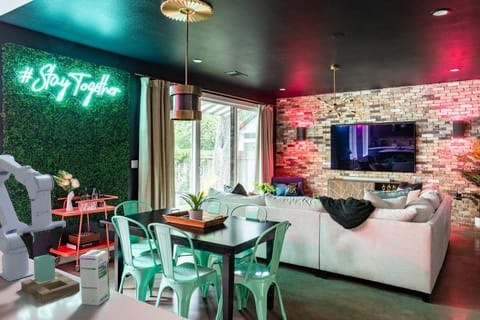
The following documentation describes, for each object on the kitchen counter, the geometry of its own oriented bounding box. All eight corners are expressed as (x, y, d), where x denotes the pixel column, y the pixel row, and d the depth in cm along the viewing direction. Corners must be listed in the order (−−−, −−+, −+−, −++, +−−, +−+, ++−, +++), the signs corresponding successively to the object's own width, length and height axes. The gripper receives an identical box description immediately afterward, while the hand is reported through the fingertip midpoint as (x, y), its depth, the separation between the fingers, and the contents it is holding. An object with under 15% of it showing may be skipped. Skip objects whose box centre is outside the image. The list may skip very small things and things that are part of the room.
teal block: (34, 279, 115) (33, 257, 114) (49, 274, 118) (48, 254, 118) (40, 282, 112) (39, 260, 112) (55, 278, 116) (54, 256, 115)
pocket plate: (21, 288, 114) (21, 280, 114) (56, 278, 122) (56, 270, 122) (42, 303, 104) (42, 294, 103) (79, 290, 112) (79, 282, 112)
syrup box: (99, 306, 102) (97, 256, 101) (80, 304, 103) (79, 254, 102) (110, 297, 107) (108, 250, 107) (92, 295, 109) (91, 248, 108)
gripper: (21, 216, 109) (24, 260, 109) (69, 209, 120) (71, 249, 121) (13, 214, 113) (15, 256, 114) (59, 207, 125) (61, 245, 125)
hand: (43, 252), depth 118 cm, fingers open, 7 cm apart
